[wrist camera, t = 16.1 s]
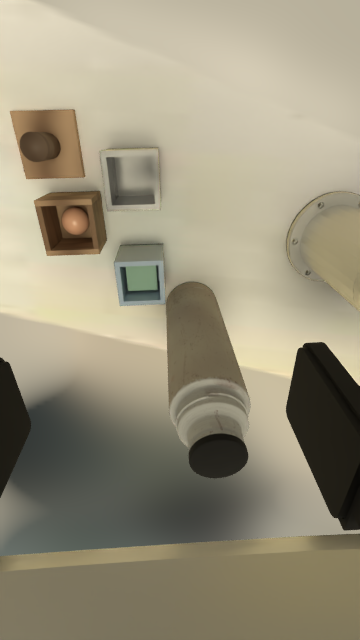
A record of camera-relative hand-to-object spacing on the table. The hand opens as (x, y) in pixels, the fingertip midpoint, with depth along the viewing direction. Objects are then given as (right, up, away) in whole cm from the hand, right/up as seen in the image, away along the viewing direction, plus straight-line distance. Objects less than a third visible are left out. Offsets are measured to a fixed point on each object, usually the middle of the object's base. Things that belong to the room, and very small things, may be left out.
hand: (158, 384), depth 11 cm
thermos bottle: (+2, +5, +40) cm, 40 cm away
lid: (-15, +23, +28) cm, 39 cm away
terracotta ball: (-13, +16, +32) cm, 37 cm away
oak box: (-13, +16, +32) cm, 38 cm away
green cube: (-5, +10, +35) cm, 37 cm away
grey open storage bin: (-5, +21, +30) cm, 37 cm away
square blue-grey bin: (-5, +10, +36) cm, 38 cm away
